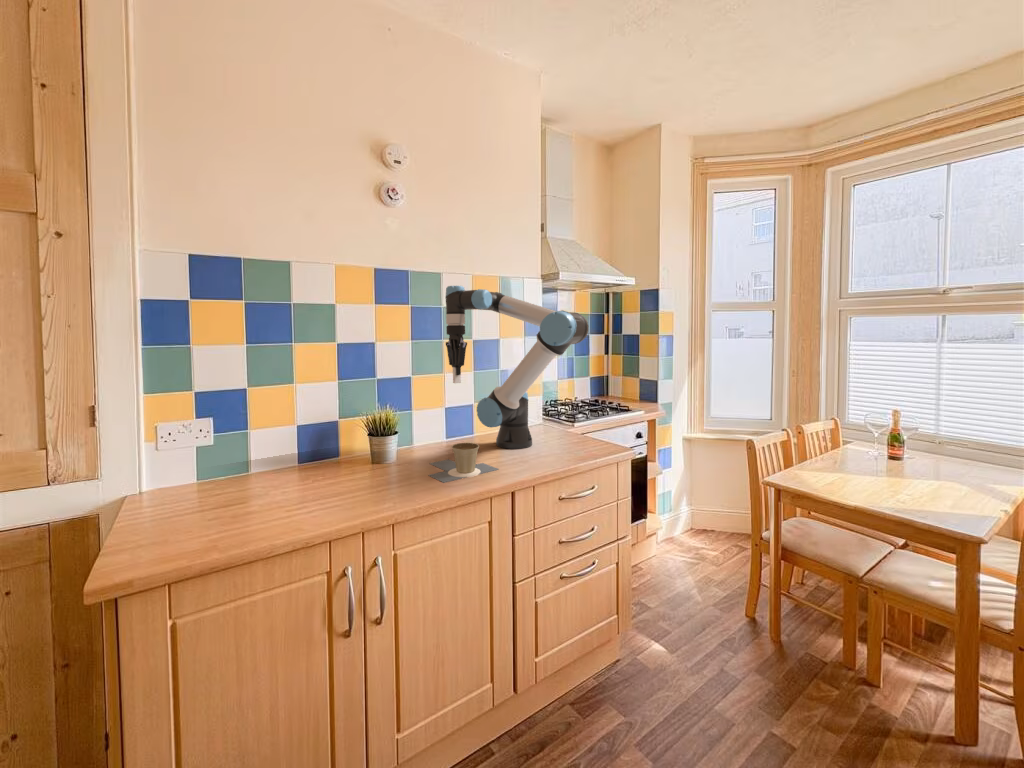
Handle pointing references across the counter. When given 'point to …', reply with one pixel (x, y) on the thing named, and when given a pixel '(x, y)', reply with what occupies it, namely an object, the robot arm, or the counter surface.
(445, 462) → the T mat
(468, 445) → the flower pot
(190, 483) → the counter surface
